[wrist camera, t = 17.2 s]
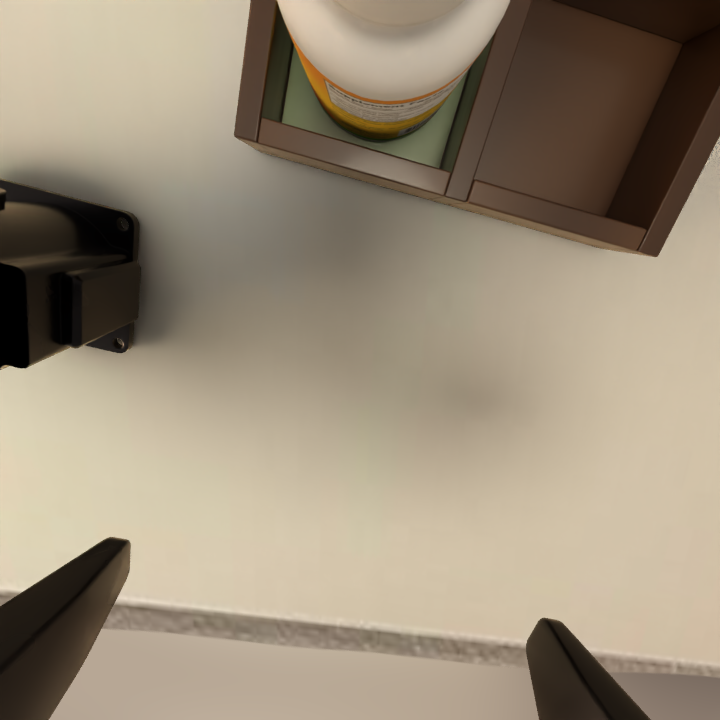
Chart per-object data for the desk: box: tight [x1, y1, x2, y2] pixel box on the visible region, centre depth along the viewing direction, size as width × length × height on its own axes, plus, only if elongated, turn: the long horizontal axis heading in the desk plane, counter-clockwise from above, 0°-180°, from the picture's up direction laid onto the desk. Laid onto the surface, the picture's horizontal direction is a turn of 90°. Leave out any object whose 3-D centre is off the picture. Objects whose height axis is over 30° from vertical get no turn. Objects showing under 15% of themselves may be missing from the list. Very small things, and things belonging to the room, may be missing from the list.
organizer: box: [234, 0, 720, 257], centre depth 14 cm, size 15×8×4 cm, turn 76°
